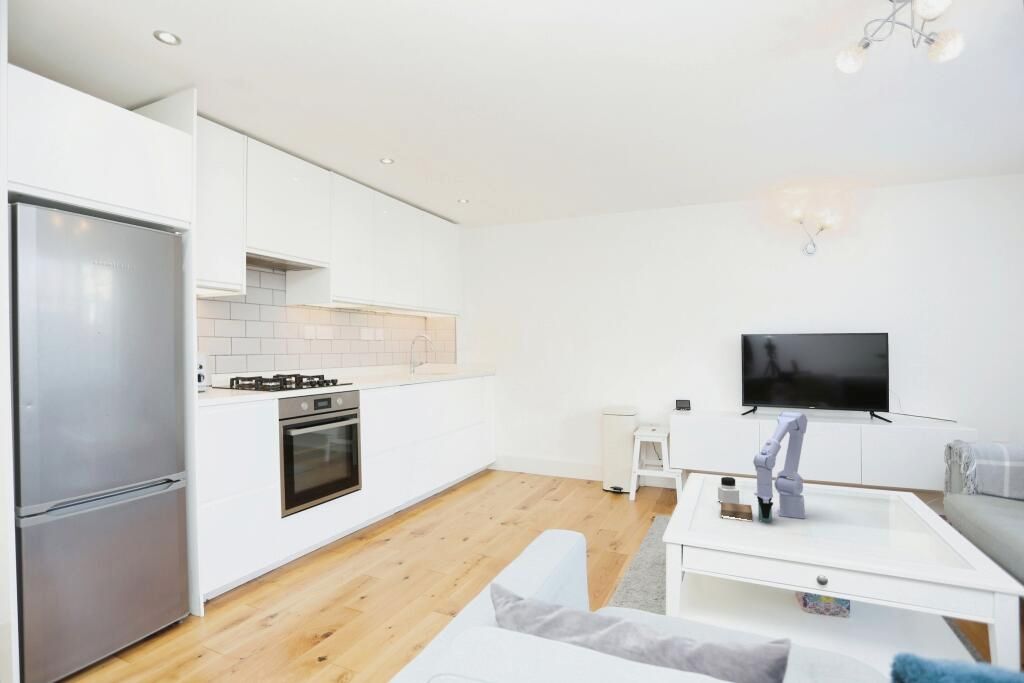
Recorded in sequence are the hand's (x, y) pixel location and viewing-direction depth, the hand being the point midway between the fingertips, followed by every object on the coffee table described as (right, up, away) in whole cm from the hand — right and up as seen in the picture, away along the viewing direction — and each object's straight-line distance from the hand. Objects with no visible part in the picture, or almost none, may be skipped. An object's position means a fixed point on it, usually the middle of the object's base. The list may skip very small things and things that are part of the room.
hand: (765, 516), depth 214 cm
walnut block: (-9, -2, +6) cm, 11 cm away
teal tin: (0, -2, 0) cm, 2 cm away
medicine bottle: (-5, -3, +25) cm, 25 cm away
